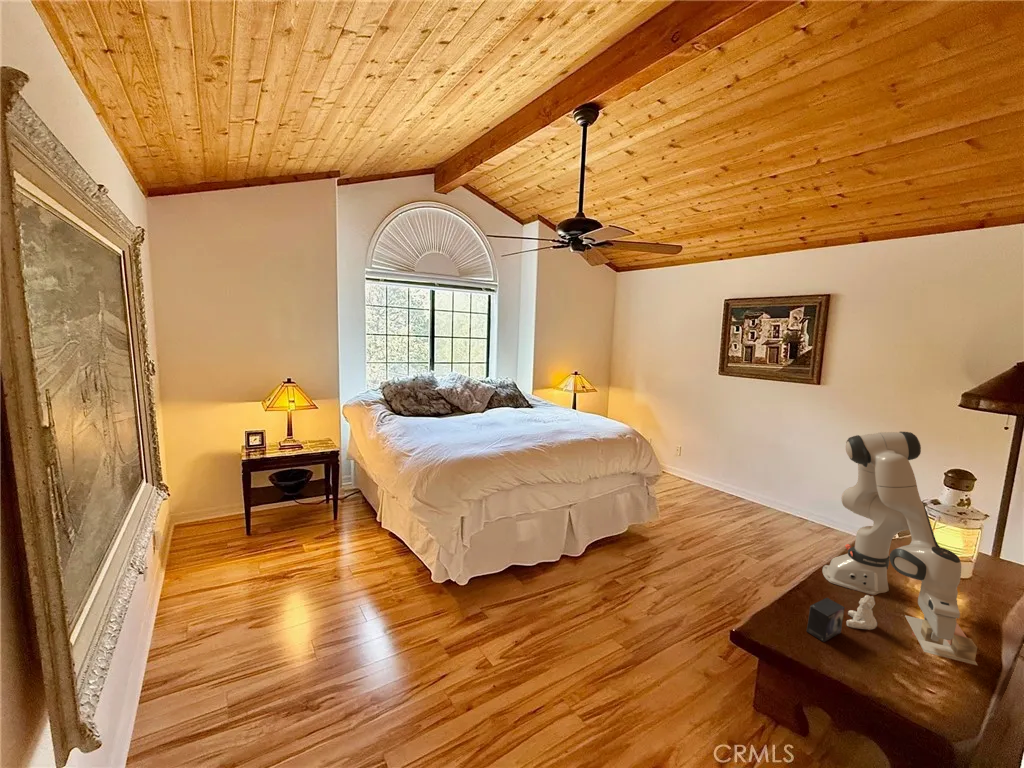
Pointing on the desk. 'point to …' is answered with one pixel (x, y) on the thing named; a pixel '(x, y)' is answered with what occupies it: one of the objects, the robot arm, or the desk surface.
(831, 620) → the small box
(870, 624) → the seated beast figurine
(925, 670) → the desk surface
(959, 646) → the pillar
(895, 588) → the desk surface
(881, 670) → the desk surface
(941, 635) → the robot arm
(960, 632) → the lintel
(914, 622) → the blueprint mat
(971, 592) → the desk surface
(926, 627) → the pillar
